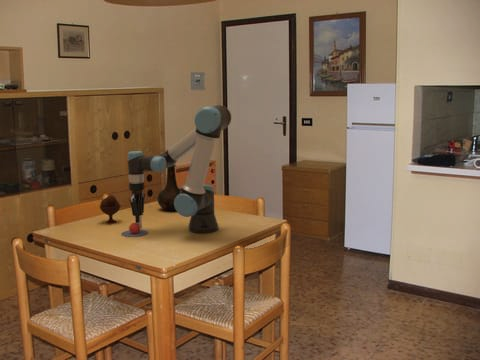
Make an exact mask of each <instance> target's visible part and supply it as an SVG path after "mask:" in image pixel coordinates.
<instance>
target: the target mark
mask: <svg viewBox="0 0 480 360" xmlns="http://www.w3.org/2000/svg"><path fill="white" fill-rule="evenodd" d="M148 233H149V232H148V231H147V230H144V229H140V231H139V232H138V233H137V234H132V233H131V232H130V231H129V230H126V231H123V232H121V233H120V234H121V236H123V237H125V238H126V237H127V238H137V237H142V236H145V235H147V234H148Z"/></svg>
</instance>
